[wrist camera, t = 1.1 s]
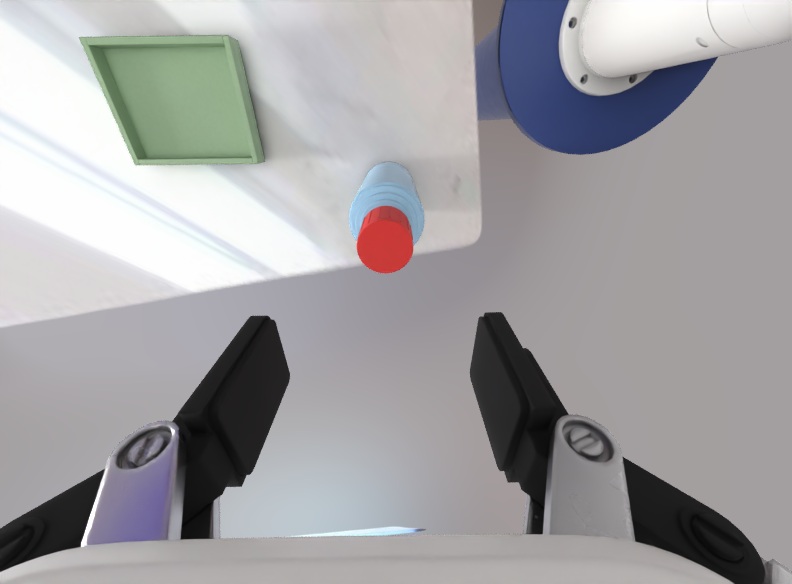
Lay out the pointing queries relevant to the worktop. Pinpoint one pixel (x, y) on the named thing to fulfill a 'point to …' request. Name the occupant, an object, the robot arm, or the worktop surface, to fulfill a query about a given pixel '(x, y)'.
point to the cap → (385, 240)
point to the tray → (178, 98)
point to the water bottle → (387, 197)
